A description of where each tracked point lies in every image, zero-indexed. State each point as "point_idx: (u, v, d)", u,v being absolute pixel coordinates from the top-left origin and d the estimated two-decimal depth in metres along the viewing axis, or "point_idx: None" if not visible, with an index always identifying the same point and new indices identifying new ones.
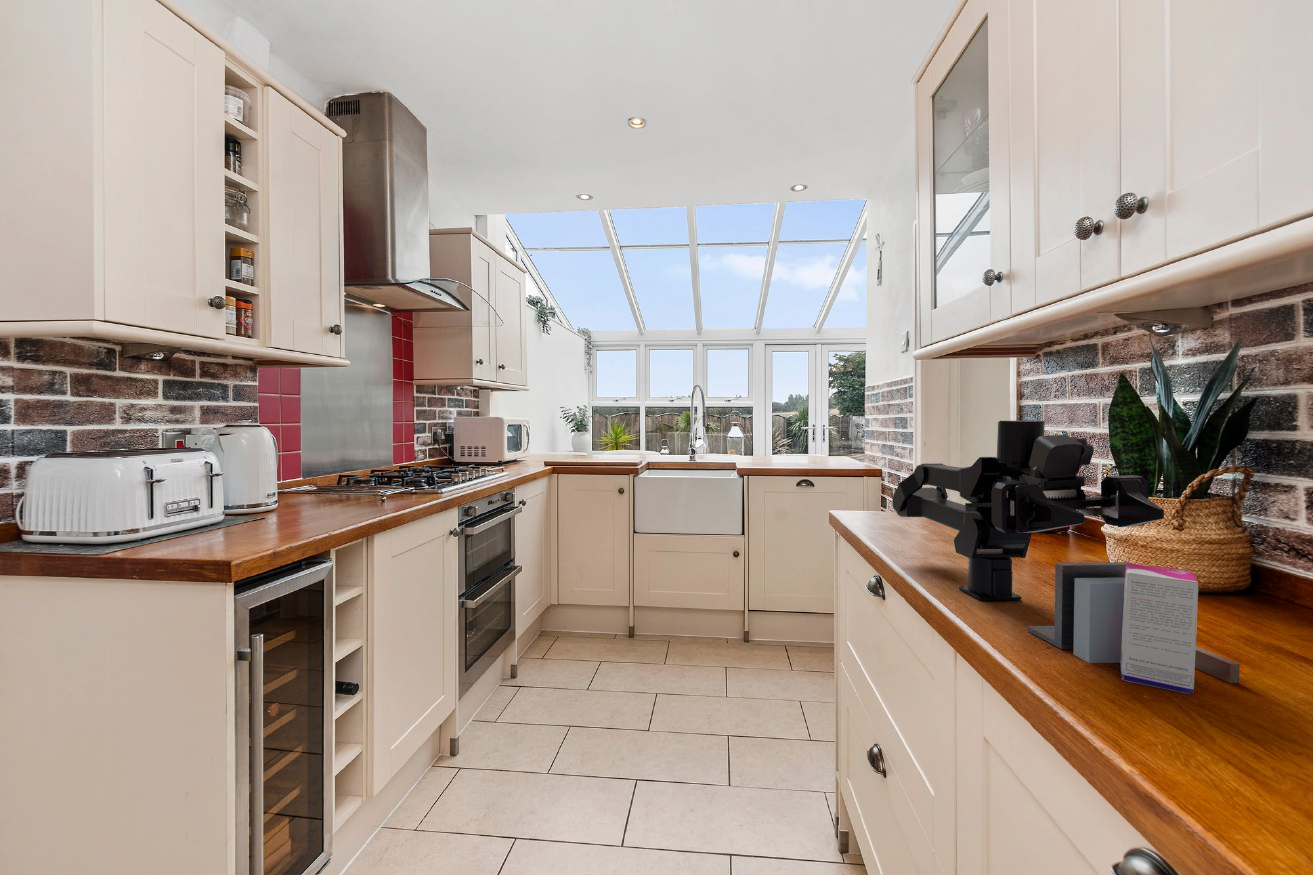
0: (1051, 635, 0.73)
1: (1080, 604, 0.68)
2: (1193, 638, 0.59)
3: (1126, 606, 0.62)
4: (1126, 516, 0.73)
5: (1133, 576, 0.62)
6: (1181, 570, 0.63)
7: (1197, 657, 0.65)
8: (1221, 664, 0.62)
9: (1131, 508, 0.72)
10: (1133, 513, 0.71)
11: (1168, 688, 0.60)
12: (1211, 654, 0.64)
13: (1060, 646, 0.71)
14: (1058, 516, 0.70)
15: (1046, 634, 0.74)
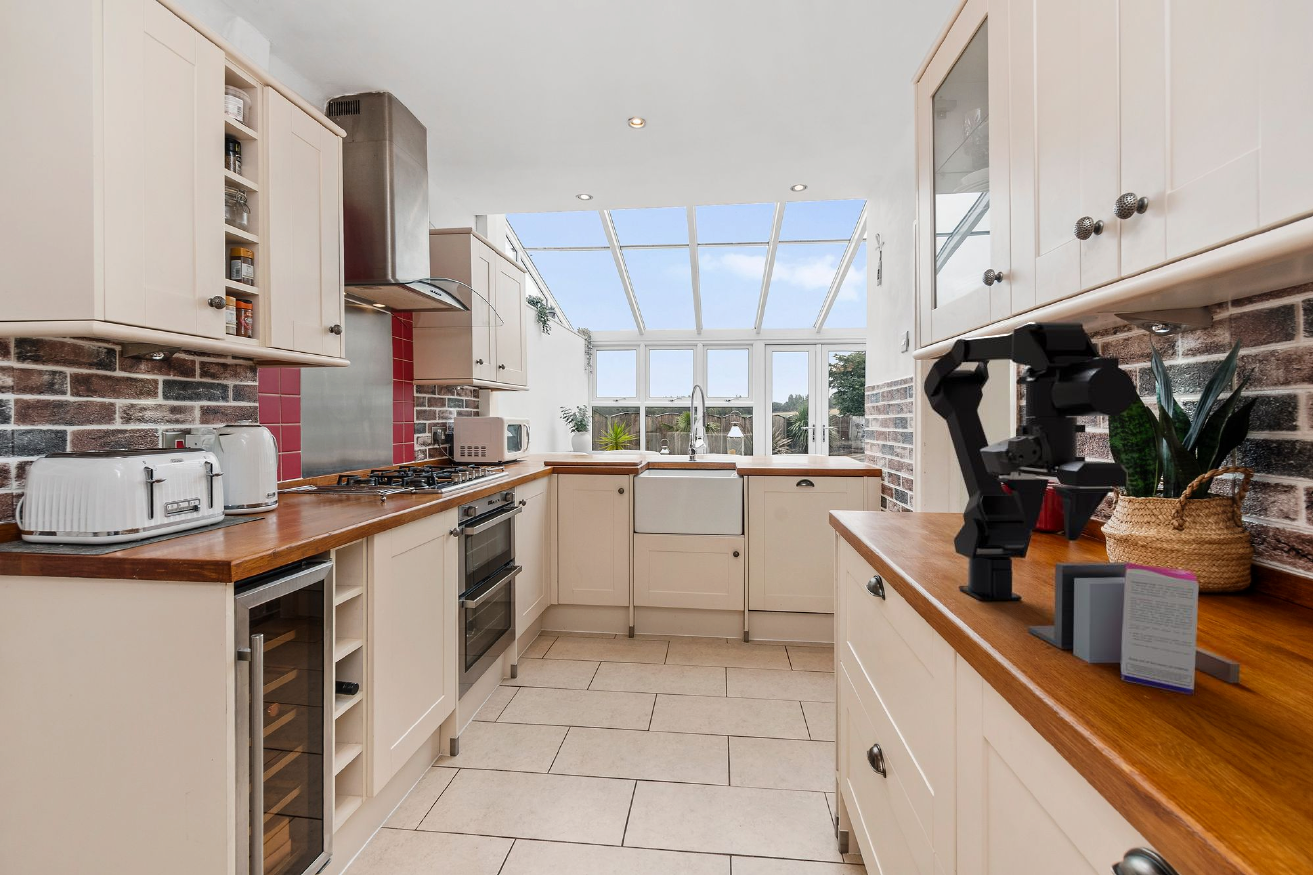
0: (1051, 635, 0.74)
1: (1080, 604, 0.68)
2: (1193, 638, 0.59)
3: (1126, 606, 0.62)
4: None
5: (1133, 576, 0.62)
6: (1181, 570, 0.63)
7: (1197, 657, 0.65)
8: (1221, 664, 0.62)
9: None
10: None
11: (1168, 688, 0.60)
12: (1211, 654, 0.64)
13: (1060, 646, 0.71)
14: None
15: (1046, 634, 0.74)
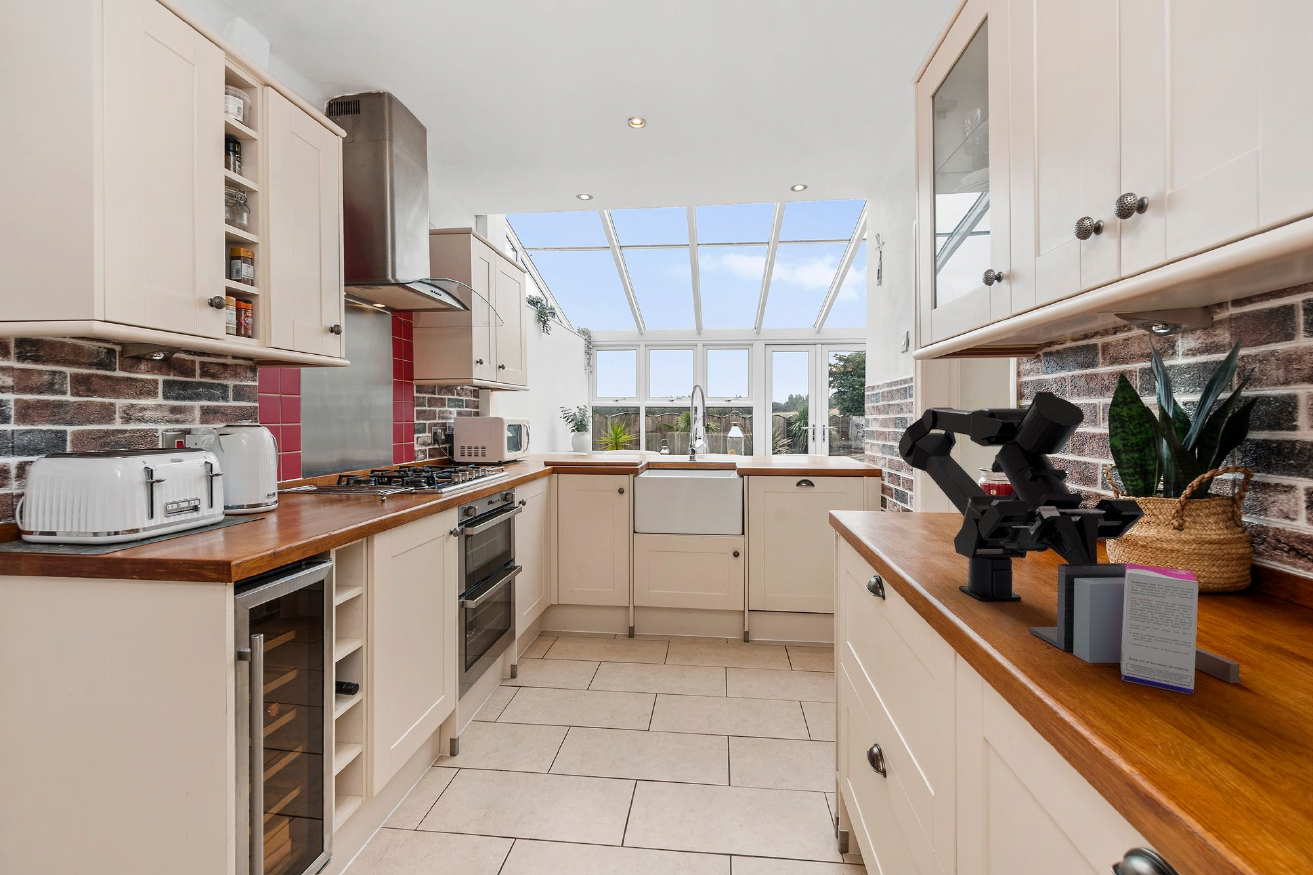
0: (1053, 636, 0.73)
1: (1080, 604, 0.68)
2: (1193, 638, 0.59)
3: (1126, 606, 0.62)
4: None
5: (1133, 576, 0.62)
6: (1181, 570, 0.63)
7: (1197, 657, 0.65)
8: (1221, 664, 0.62)
9: None
10: None
11: (1168, 688, 0.60)
12: (1211, 654, 0.64)
13: (1063, 647, 0.70)
14: None
15: (1048, 635, 0.73)
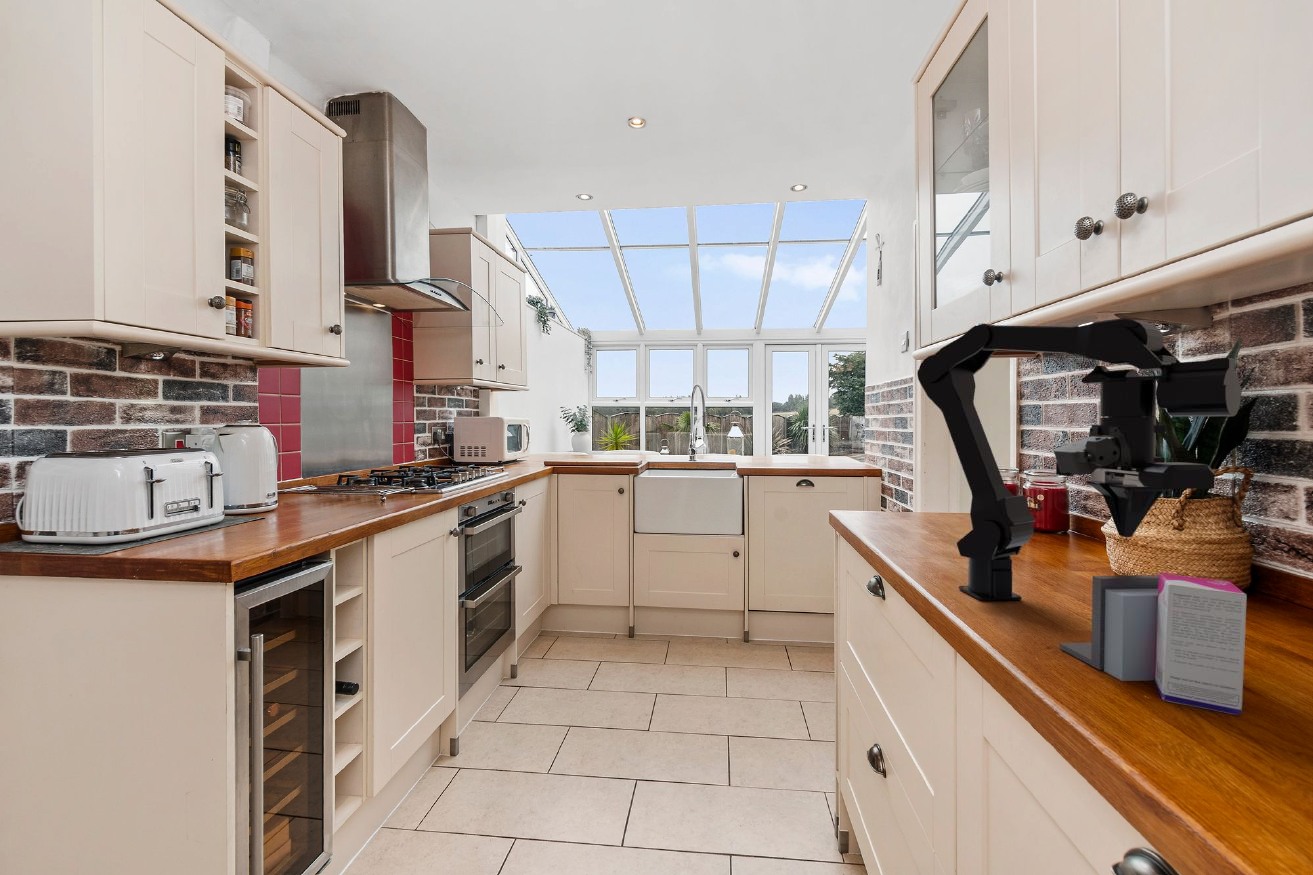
0: (1087, 654, 0.68)
1: (1112, 617, 0.64)
2: (1241, 655, 0.55)
3: (1167, 620, 0.58)
4: None
5: (1175, 588, 0.57)
6: (1219, 580, 0.59)
7: None
8: None
9: None
10: None
11: (1214, 709, 0.56)
12: None
13: (1098, 666, 0.65)
14: None
15: (1081, 652, 0.68)
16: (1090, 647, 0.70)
